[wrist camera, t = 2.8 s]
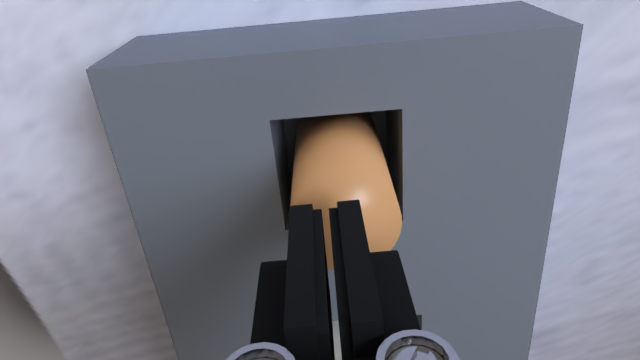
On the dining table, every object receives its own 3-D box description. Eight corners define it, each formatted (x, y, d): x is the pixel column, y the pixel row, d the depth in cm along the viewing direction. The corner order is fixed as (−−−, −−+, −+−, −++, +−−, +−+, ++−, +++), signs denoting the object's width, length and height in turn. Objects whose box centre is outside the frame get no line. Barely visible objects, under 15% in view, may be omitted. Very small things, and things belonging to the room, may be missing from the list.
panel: (521, 1, 17) (583, 24, 13) (472, 467, 30) (496, 548, 27) (136, 36, 18) (85, 69, 14) (252, 481, 31) (243, 563, 27)
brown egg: (374, 94, 17) (401, 170, 12) (377, 169, 19) (402, 266, 13) (292, 101, 17) (282, 180, 12) (300, 175, 19) (295, 274, 14)
